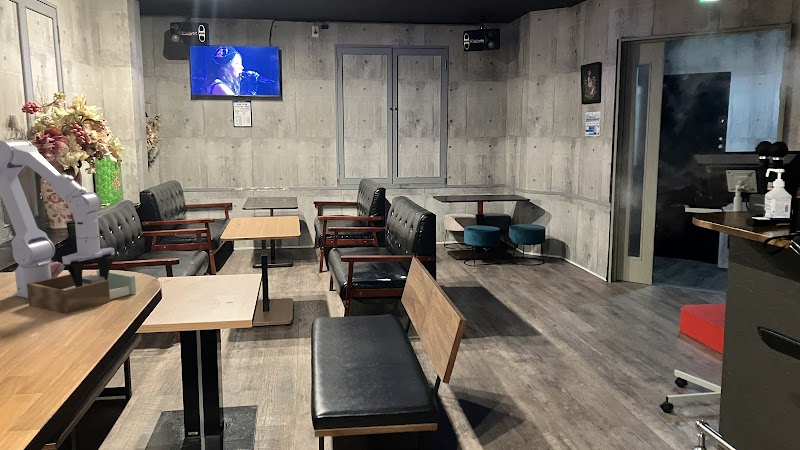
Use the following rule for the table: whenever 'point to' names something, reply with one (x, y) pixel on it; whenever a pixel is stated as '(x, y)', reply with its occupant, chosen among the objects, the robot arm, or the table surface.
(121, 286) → the tray
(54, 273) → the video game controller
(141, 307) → the table surface
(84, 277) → the grey upright block
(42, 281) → the dock housing
